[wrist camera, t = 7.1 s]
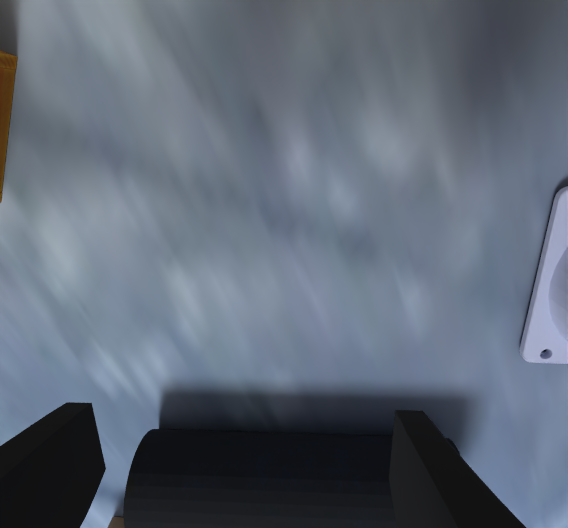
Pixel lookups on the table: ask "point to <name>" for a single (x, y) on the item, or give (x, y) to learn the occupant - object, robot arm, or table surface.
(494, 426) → the table surface
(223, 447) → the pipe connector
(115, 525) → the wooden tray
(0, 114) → the spider toy trap
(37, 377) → the table surface
